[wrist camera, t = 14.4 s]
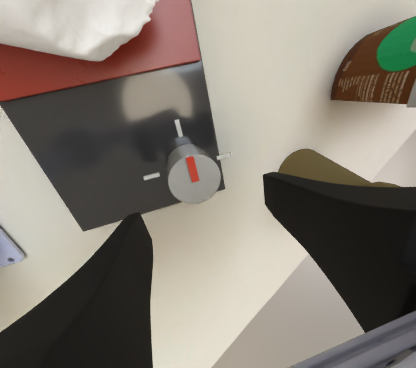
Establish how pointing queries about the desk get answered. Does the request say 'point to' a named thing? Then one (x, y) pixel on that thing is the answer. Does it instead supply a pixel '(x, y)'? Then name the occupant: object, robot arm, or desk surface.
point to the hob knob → (192, 174)
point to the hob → (117, 139)
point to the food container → (380, 67)
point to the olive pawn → (323, 170)
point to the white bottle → (73, 25)
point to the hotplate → (110, 67)
